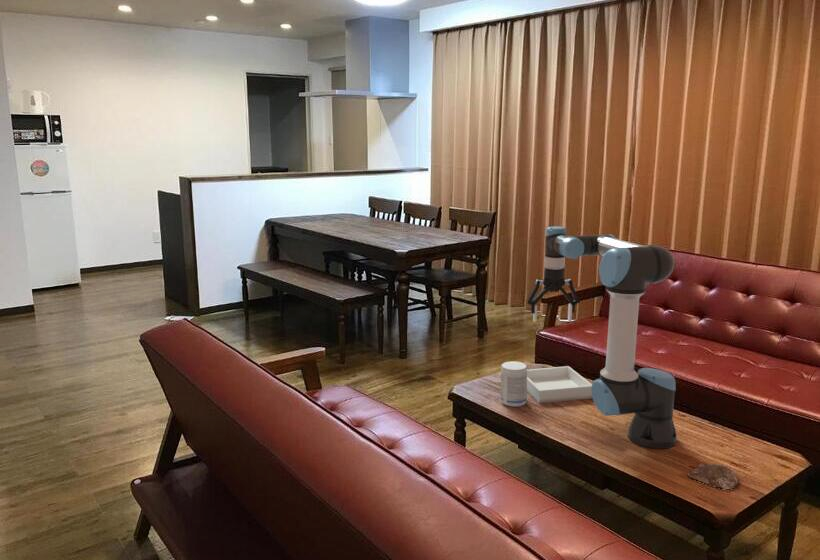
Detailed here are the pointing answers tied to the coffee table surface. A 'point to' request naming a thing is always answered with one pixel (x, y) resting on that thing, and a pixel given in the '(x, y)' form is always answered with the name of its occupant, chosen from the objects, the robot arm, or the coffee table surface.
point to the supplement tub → (514, 384)
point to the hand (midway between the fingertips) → (552, 321)
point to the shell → (715, 476)
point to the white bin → (557, 385)
